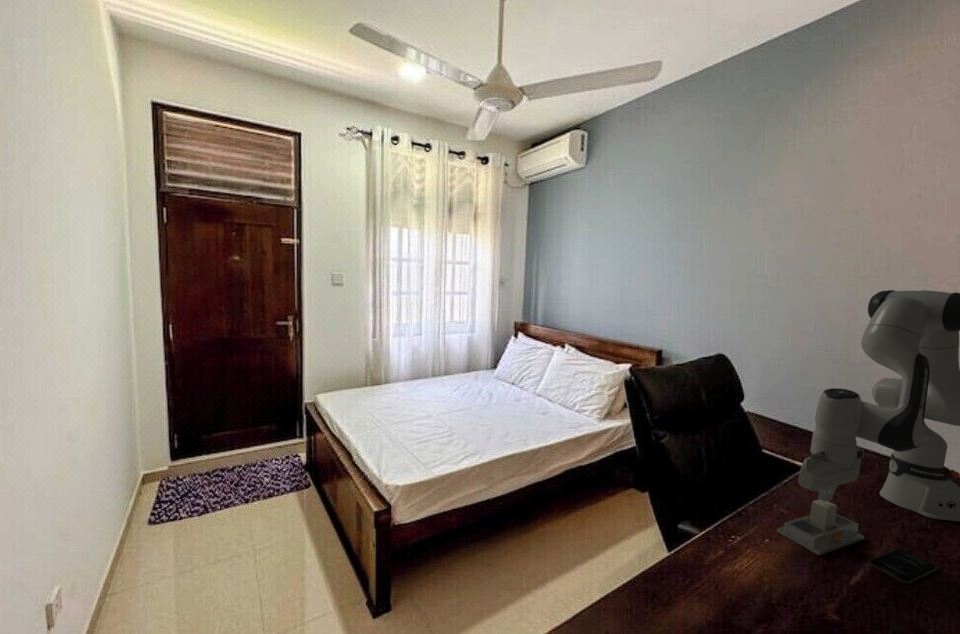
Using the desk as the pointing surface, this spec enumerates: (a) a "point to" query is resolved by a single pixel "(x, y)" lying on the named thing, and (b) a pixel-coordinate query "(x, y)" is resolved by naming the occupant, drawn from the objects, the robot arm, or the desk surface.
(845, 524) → the rack
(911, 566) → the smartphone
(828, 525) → the block
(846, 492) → the desk surface
